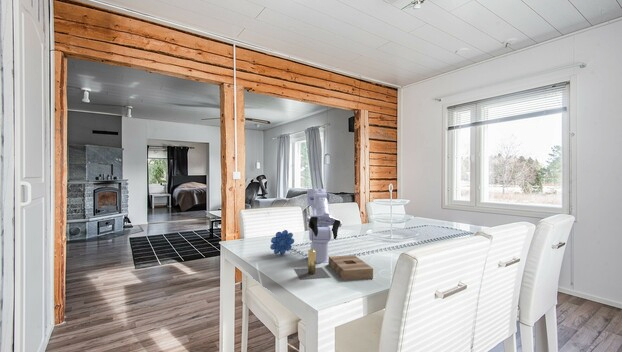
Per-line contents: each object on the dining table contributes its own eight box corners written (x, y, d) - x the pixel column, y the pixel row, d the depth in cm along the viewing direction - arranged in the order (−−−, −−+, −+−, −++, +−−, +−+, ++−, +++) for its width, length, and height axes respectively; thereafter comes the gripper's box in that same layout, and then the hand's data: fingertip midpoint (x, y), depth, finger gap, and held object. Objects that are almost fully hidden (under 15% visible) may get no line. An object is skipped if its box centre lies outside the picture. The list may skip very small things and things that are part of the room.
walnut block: (328, 265, 125) (328, 256, 125) (354, 264, 128) (354, 255, 128) (343, 281, 108) (343, 270, 108) (372, 278, 111) (373, 268, 111)
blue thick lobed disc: (293, 251, 145) (293, 228, 145) (294, 255, 139) (295, 230, 139) (269, 252, 143) (270, 228, 143) (270, 256, 137) (270, 231, 137)
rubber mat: (293, 270, 118) (293, 269, 118) (321, 268, 121) (321, 267, 121) (300, 281, 106) (300, 279, 106) (330, 278, 110) (330, 277, 110)
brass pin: (307, 272, 115) (307, 249, 115) (314, 271, 116) (314, 249, 116) (308, 274, 112) (309, 251, 112) (316, 274, 113) (316, 251, 113)
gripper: (308, 202, 118) (310, 225, 107) (342, 208, 121) (347, 231, 110) (304, 215, 122) (305, 238, 111) (337, 220, 125) (341, 244, 114)
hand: (326, 236), depth 111 cm, fingers open, 7 cm apart
